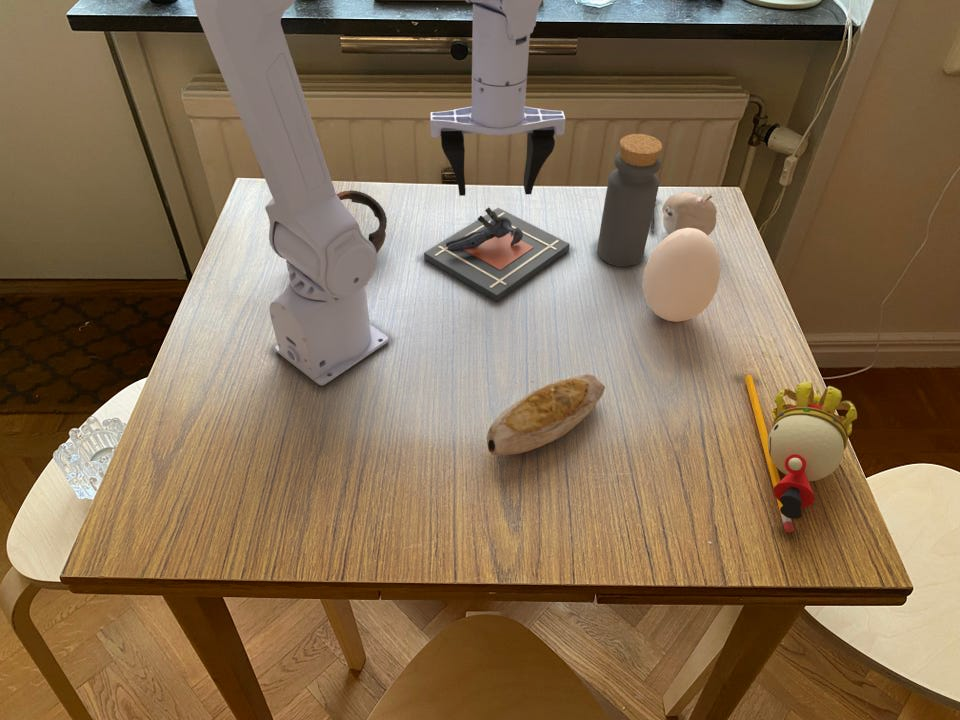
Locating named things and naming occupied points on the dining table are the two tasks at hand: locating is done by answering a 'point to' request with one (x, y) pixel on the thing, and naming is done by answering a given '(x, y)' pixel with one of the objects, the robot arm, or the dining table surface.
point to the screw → (652, 222)
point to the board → (498, 257)
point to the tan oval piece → (544, 415)
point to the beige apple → (689, 212)
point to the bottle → (630, 200)
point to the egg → (681, 275)
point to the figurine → (487, 233)
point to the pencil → (766, 445)
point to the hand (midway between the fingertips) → (494, 190)
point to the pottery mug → (362, 198)
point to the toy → (807, 442)
